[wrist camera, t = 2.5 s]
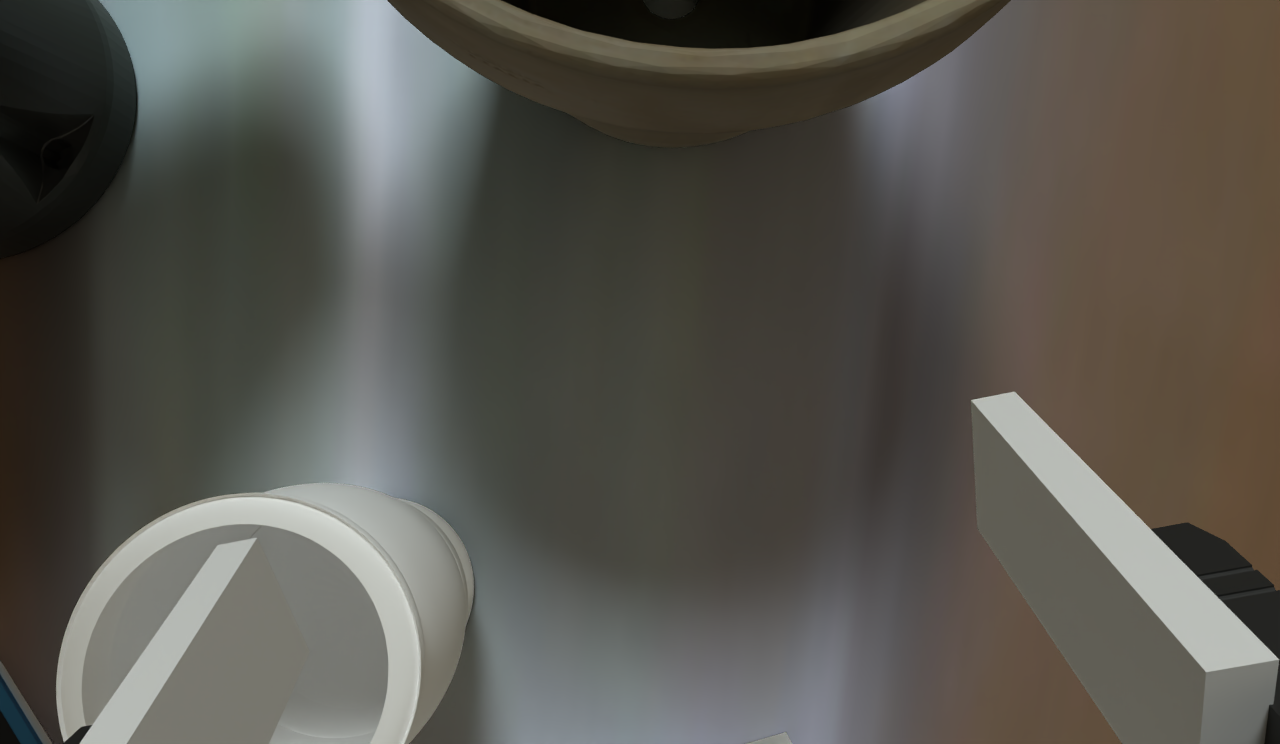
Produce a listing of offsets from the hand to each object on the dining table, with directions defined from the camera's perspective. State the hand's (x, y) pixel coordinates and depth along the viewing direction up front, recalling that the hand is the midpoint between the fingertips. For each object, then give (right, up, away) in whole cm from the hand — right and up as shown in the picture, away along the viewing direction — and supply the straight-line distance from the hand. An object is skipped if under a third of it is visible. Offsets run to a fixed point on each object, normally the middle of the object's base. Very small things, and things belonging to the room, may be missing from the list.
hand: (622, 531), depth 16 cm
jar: (-11, -7, +24) cm, 28 cm away
